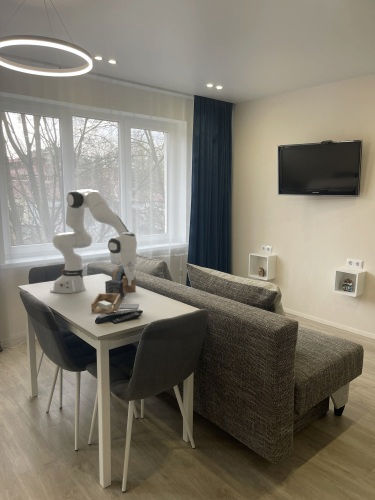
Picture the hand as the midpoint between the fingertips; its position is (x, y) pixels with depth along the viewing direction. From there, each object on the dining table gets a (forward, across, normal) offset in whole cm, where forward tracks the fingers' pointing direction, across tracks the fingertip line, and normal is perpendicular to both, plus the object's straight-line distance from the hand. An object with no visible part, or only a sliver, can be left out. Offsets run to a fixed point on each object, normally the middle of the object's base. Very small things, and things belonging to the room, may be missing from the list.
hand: (129, 284), depth 212 cm
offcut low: (+14, -4, +14) cm, 20 cm away
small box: (+14, +21, +7) cm, 26 cm away
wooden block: (+5, 0, 0) cm, 5 cm away
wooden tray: (+13, +2, +13) cm, 19 cm away
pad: (+13, 0, 0) cm, 13 cm away
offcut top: (+11, -4, +14) cm, 19 cm away
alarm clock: (+14, +37, +1) cm, 40 cm away
